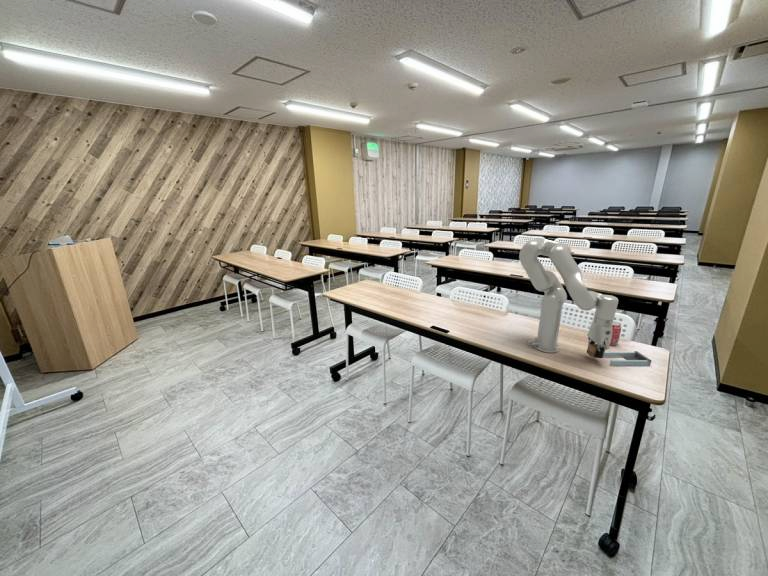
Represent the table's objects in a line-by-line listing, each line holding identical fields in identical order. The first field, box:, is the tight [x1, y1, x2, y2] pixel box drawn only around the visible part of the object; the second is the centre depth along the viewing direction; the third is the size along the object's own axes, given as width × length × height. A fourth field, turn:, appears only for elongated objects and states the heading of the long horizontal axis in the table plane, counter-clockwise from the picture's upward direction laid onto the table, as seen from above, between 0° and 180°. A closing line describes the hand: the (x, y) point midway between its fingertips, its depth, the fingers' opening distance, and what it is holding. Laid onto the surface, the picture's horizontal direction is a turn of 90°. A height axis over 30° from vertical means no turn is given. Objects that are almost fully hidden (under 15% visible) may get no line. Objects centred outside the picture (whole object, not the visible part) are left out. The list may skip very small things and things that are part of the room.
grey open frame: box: [603, 350, 652, 367], centre depth 146 cm, size 18×9×3 cm, turn 88°
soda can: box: [609, 321, 622, 346], centre depth 163 cm, size 7×7×12 cm
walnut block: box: [585, 343, 606, 359], centre depth 146 cm, size 5×5×5 cm
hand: (594, 354), depth 147 cm, fingers closed on walnut block, 5 cm apart
